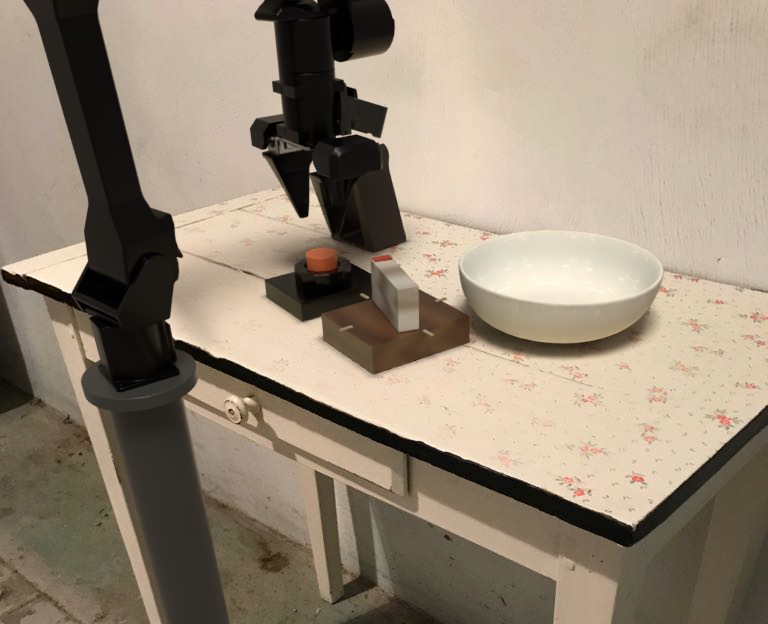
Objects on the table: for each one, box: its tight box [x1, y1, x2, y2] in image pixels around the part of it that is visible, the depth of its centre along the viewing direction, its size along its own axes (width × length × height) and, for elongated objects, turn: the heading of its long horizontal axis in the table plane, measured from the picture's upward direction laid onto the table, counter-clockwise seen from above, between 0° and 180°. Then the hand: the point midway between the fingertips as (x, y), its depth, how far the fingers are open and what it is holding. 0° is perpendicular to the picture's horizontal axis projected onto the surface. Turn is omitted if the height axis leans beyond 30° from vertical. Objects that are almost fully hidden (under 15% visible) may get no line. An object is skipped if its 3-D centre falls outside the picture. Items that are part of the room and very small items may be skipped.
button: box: [305, 247, 338, 271], centre depth 95 cm, size 4×4×2 cm
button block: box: [264, 255, 372, 322], centre depth 96 cm, size 11×9×4 cm
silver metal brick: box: [370, 254, 420, 332], centre depth 84 cm, size 9×2×5 cm, turn 18°
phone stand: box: [330, 141, 407, 253], centre depth 109 cm, size 9×6×12 cm, turn 43°
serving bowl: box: [458, 229, 665, 344], centre depth 87 cm, size 21×21×7 cm
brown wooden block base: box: [320, 288, 471, 375], centre depth 86 cm, size 13×13×3 cm
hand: (319, 225), depth 92 cm, fingers open, 7 cm apart
